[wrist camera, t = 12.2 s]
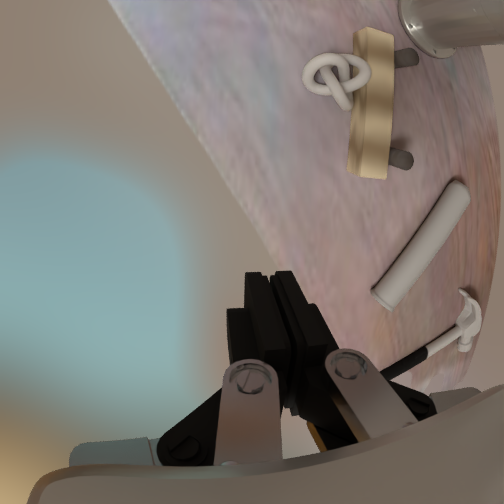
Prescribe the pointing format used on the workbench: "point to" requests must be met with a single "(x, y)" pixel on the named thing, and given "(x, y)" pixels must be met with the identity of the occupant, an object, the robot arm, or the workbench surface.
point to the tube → (422, 246)
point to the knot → (333, 87)
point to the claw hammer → (444, 338)
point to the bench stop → (376, 106)
